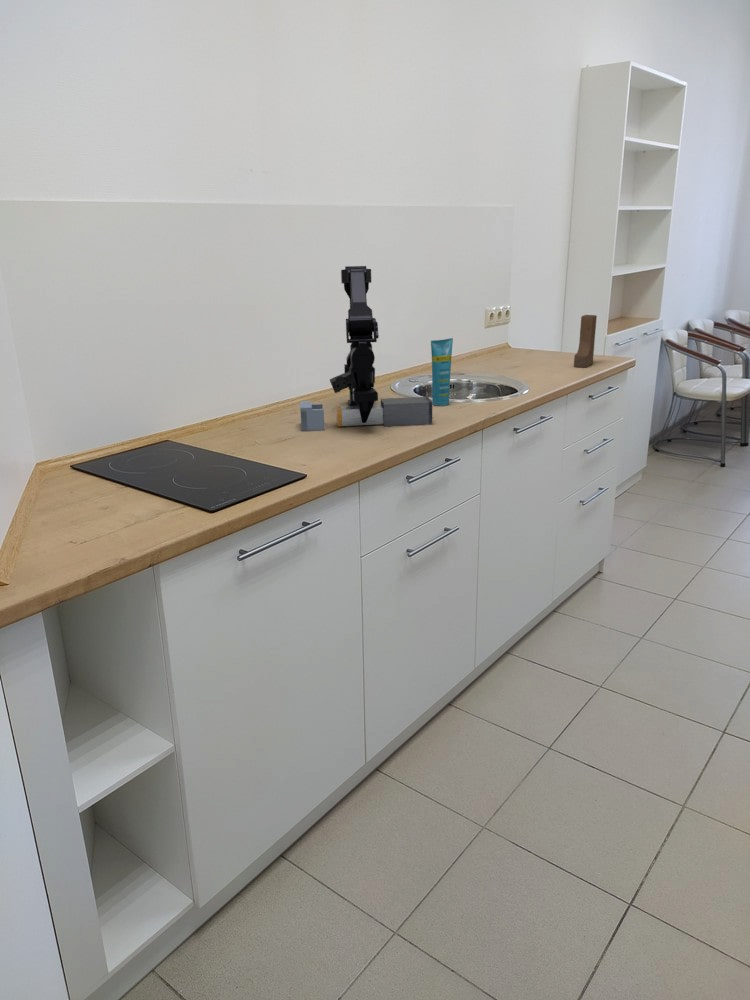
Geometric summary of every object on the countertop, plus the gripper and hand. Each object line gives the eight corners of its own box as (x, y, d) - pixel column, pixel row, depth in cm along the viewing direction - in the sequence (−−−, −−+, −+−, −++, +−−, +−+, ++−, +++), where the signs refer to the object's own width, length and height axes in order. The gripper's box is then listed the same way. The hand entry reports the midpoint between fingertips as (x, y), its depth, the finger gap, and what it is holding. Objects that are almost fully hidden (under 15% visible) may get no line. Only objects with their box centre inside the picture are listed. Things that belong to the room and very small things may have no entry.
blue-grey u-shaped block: (301, 423, 201) (299, 401, 199) (323, 422, 201) (322, 400, 199) (301, 431, 193) (300, 407, 191) (324, 429, 194) (323, 406, 192)
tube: (436, 407, 215) (436, 341, 209) (426, 404, 219) (426, 339, 212) (455, 403, 219) (456, 338, 212) (445, 401, 223) (446, 336, 216)
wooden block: (585, 368, 268) (589, 317, 262) (573, 367, 271) (576, 317, 264) (593, 364, 275) (597, 315, 269) (581, 363, 278) (584, 314, 271)
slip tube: (336, 422, 200) (336, 406, 198) (416, 418, 202) (416, 402, 201) (337, 426, 196) (337, 410, 195) (419, 422, 198) (419, 406, 197)
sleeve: (381, 420, 203) (380, 398, 200) (427, 417, 204) (427, 396, 202) (384, 426, 196) (383, 404, 194) (432, 424, 197) (432, 402, 195)
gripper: (328, 358, 201) (331, 413, 206) (333, 370, 183) (335, 431, 189) (369, 356, 202) (370, 412, 207) (377, 368, 185) (378, 428, 190)
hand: (363, 420), depth 198 cm, fingers closed on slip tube, 4 cm apart
